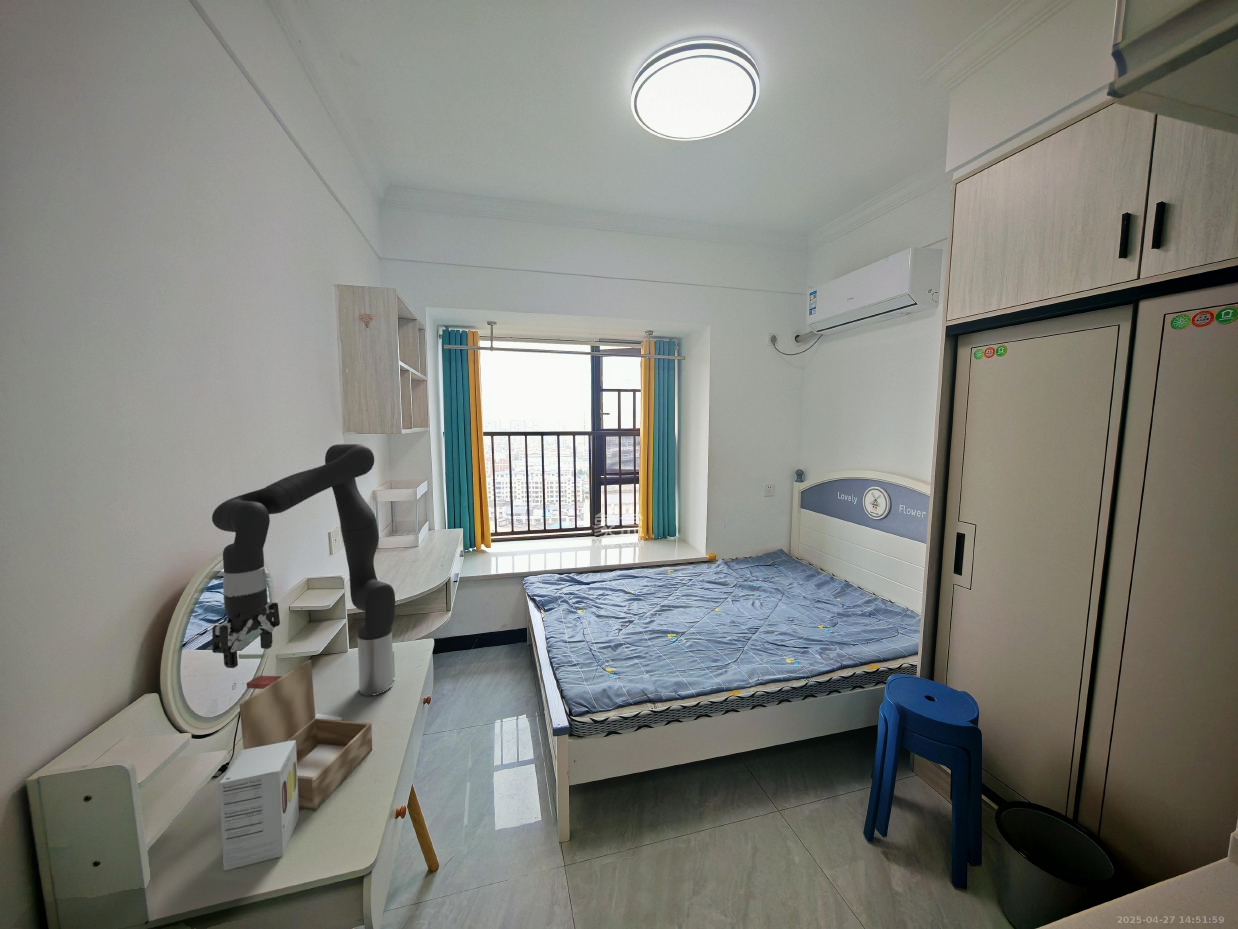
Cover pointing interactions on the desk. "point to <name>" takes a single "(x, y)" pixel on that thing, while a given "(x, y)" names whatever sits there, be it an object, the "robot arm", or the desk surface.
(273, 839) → the supplement box
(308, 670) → the lid
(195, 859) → the desk surface
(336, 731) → the mailer base
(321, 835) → the desk surface
